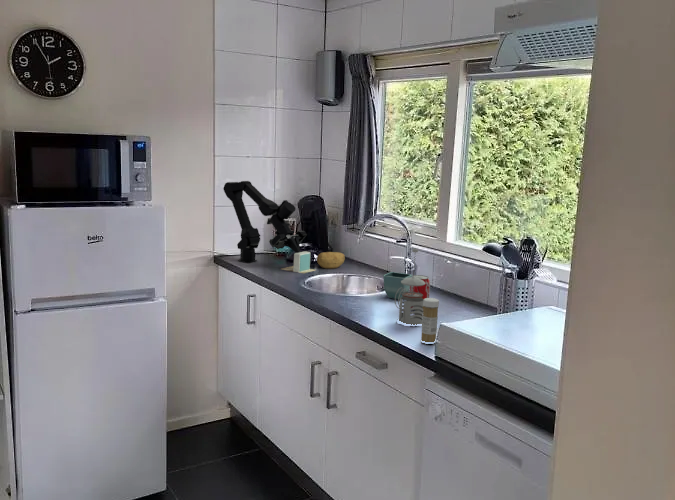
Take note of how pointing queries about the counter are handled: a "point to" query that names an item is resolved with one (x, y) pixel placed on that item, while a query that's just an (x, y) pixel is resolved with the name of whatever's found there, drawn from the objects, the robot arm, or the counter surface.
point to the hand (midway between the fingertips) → (299, 253)
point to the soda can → (422, 287)
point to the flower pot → (395, 284)
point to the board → (298, 272)
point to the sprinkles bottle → (429, 319)
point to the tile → (301, 261)
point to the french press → (411, 301)
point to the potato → (330, 259)
